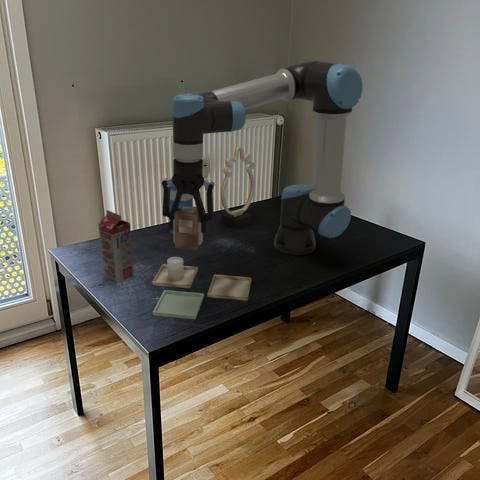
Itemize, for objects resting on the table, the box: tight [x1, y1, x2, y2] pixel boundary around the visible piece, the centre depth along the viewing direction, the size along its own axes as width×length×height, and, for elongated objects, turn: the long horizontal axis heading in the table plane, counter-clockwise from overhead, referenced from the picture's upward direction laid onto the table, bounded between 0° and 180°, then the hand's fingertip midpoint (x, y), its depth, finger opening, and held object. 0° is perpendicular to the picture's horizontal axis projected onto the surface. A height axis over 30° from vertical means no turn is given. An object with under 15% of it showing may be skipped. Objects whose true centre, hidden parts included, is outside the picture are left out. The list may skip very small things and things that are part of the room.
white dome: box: [166, 256, 184, 281], centre depth 150 cm, size 5×5×6 cm
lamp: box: [220, 146, 256, 230], centre depth 188 cm, size 17×9×32 cm, turn 132°
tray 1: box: [151, 263, 199, 289], centre depth 151 cm, size 12×12×2 cm
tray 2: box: [152, 289, 205, 320], centre depth 136 cm, size 12×12×2 cm
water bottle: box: [169, 183, 194, 235], centre depth 181 cm, size 9×9×25 cm
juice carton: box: [98, 209, 135, 284], centre depth 147 cm, size 7×7×22 cm
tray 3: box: [206, 274, 253, 301], centre depth 146 cm, size 12×12×2 cm
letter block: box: [174, 205, 200, 251], centre depth 128 cm, size 6×6×10 cm
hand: (188, 241), depth 130 cm, fingers closed on letter block, 6 cm apart
